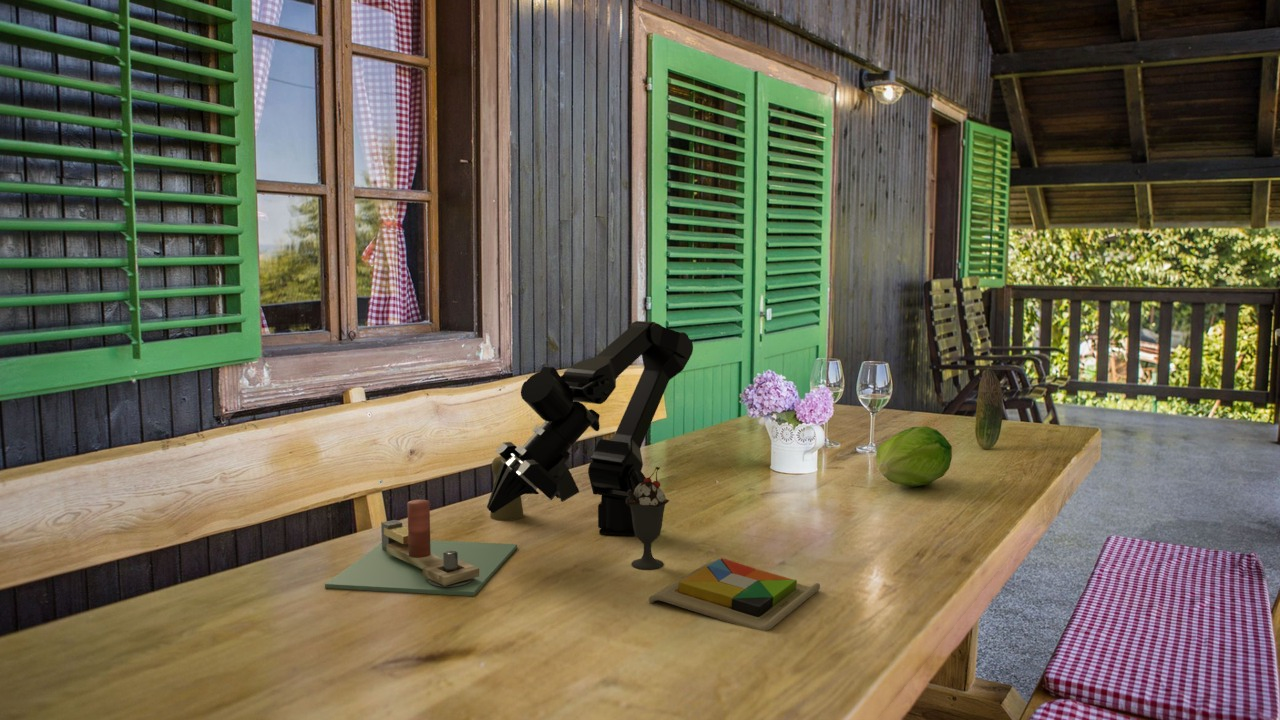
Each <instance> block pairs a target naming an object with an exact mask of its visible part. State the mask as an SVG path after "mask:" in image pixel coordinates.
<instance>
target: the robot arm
mask: <svg viewBox="0 0 1280 720" xmlns="http://www.w3.org/2000/svg"><path fill="white" fill-rule="evenodd" d="M693 351H694V344H693V341H692V340H691V339H690V337H689V335H688V334H687V333H686V332H683V331H677V330H674V329H670V328H667V327H664V326H663V325H661V324H659V323H657V322H655V321H645V320H644V321H642V320H635V321H634V322H631V323H630V324H629V325H628V329H626V330H625V331H623V332H622V333H621V334H620V335H619V336H618V337H617V338H616V339H615V340H614V341H612V342H611V343H610V344H609V345H608V346H607V347H605V348H604V349H603V350H602V351H601V352H599V353H598V354H597V355H596V356H594V357H591V358H587V359H584V360H580V361H578V362H576V363H574V364H573V365H570V366H569V367H567V369H566V370H565V371H564V372H563V374H562V375H560V374H559V372H558V370H557V369H556V368H555V367H554V366H547V365H543V366H542V367H541V370H540V371H539V372H536V373H534V374H532V375H531V376H530V377H529V378H528V379H527V380H525V381H524V382H523V384H522V386H521V389H520V397H521V399H522V400H523V401H524V403H526V404H527V405H528V406H529V407H530V408H531V409H532V410H533V411H534V412H535V413H536V414H537V415H538V416H539V417H540V419H542V420H543V421H544V422H543V423H542V424H541V426H539V425H538V424H537V425H535V426H534V428H532V431H533V432H534V433H533V435H531V437H530V438H529V439H528V440H526V442H525V443H524V445H523V446H522V445H520V444H518V445H515V444H514V443H513V442H512V441H508V442H507V441H506V442H502V443H501V444H500V446H498V448H497V449H496V450H495V452H496V454H498V455H500V456H502V457H503V458H504V459H505V460H506V461H507V462H506V463H505V462H504V461H502V460H501V462H500V463H501V464H500V468H499V471H498V474H497V478H496V481H495V484H494V483H493V487H492V490H491V494H490V496H489V499H488V502H487V504H486V505H487V506H486V509H488V511H490V513H491V512H492V513H495V512H496V511H498V510H499V509H501V508H502V507H504V506H505V505H507V504H508V503H510V502H512V501H513V500H515V499H516V498H518V497H520V496H521V497H522V496H523V495H540V492H541V493H542V494H544V496H546V497H547V498H548V499H549V500H550V501H552V500H553V499H554V498H556V499H560V502H561V503H564V502H565V501H566V500H568V499H570V498H572V497H574V496H575V495H577V494H579V493H580V490H579V487H578V485H577V484H576V483H577V482H576V481H575V480H574V477H573V474H572V472H570V470H569V466H568V465H567V464H566V462H567V461H568V460H569V459H570V455H571V453H570V452H569V450H570V449H571V448H572V446H573V445H575V443H576V442H577V441H578V440H579V439H580V437H581V436H582V435H583V434H584V433H585V432H586V431H587V430H588V429H589V427H590V428H591V429H593V430H594V431H595V432H599V430H600V425H601V424H600V414H599V413H598V412H597V411H595V410H594V409H592V408H591V409H588V407H586V406H585V404H596V405H601V404H604V403H605V402H606V401H607V400H608V398H609V397H610V395H612V393H613V392H614V390H616V388H617V378H618V377H619V376H620V375H621V374H622V373H623V372H624V371H626V370H627V369H628V367H630V366H631V365H632V364H633V363H634V362H636V360H637V359H639V357H641V359H642V364H643V370H642V373H641V374H640V377H639V379H638V382H637V384H636V386H635V388H634V391H633V393H632V395H631V398H630V399H629V401H628V404H627V407H626V409H625V411H624V413H623V415H622V417H621V420H620V421H619V423H618V426H617V429H616V431H615V434H614V435H613V436H612V437H611V438H609V439H605V438H600V439H599V441H598V442H597V443H596V447H595V449H594V452H593V454H592V455H591V456H590V457H589V459H590V460H591V461H590V462H589V465H588V469H587V474H588V478H589V479H588V480H589V482H590V488H591V490H592V494H593V495H595V496H596V495H599V496H601V497H600V502H599V503H598V505H597V527H598V528H599V531H598V533H599V534H600V535H611V536H612V535H614V536H635V533H634V528H633V521H632V513H631V508H630V506H627V504H626V499H627V498H628V497H630V496H629V495H628V492H627V491H628V490H629V489H631V491H632V492H633V494H634V491H635V488H636V487H637V486H638V485H639V483H642V482H643V481H644V480H645V478H647V477H646V476H645V474H644V473H643V472H642V469H643V466H644V463H643V457H642V452H641V449H642V444H643V443H644V440H645V438H646V435H647V433H648V431H649V429H650V426H651V424H652V422H653V420H654V416H655V415H656V412H657V410H658V407H659V406H660V405H659V404H660V403H661V400H662V398H663V395H664V394H665V391H666V389H667V387H668V385H669V382H670V380H672V379H673V378H674V377H676V376H677V375H678V374H680V373H681V372H682V371H683V370H684V369H685V367H686V366H687V364H688V363H689V360H690V358H691V357H692V355H693ZM583 403H585V404H583ZM537 489H538V490H539V491H540V492H538V490H537ZM635 537H636V536H635Z"/></svg>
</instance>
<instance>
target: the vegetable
mask: <svg viewBox="0 0 1280 720" xmlns="http://www.w3.org/2000/svg"><path fill="white" fill-rule="evenodd" d="M977 391H978V392H977V399H976V401H977V402H976V410H975V412H976V413H975V427H974V429H975V430H974V431H975V433H974V434H975V439H976V443H977V444H978V446H979V447H980V448H981V449H984V450H990V449H991V448H993V447H994V446H995V445H996V444H997V443H998V440H999V438H1000V434H1001V429H1002V425H1003V417H1004V416H1003V415H1004V414H1003V413H1004V406H1003V405H1004V404H1003V403H1004V402H1003V392H1002V385H1001V382H1000V380H999V378H998V376H997V375H996V372H995V371H994V370H993V369H992V368H990V367H988V368H985V369H984V370H983V372H982V376H981V378H980V381H979V385H978V390H977Z"/></svg>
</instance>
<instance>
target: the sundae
mask: <svg viewBox="0 0 1280 720" xmlns="http://www.w3.org/2000/svg"><path fill="white" fill-rule="evenodd" d="M660 469H661V468H660V467H659V466H655V469H654V471H653V473H652V474H651V475H650V476H649V477H646V478H645V480H644V481H643V482H642V483H639V485H638V486H637V487H636V488H635V491H634V494H633V492H632V491H631V489H629V490H628V491H627V492H628V495H629V496H630V497H628V498H627V499H626V504H627V506H630V508H631V513H632V521H633V528H634V533H635V537H636V539H638V540H639V541H641V543H642V544H643V553H642V555H641V558H637V559H634V560H632V562H631V567H633V568H635V569H639V570H644V571H645V570H648V571H651V570H658V569H660V568H662V567H663V566H664V562H663V560H661V559H657V558H655V557H654V556H653V553H652V543H653V542H655V540H657V539H658V538H659V536H661V532H662V528H663V521H664V520H663V519H664V513H665V508H666V507H665V506H666V504H668V503H669V502H670V500H669V499H667V498H666V494H665V492H664V491H663V489H661V482H660V481H658V471H659V470H660ZM654 474H655V480H654V481H653V482H652V479H651V478H652V476H653V475H654Z"/></svg>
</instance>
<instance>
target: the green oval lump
mask: <svg viewBox="0 0 1280 720" xmlns="http://www.w3.org/2000/svg"><path fill="white" fill-rule="evenodd" d="M952 448H953V447H952V445H951V443H950V442H949V441H948V440H947V438H946V437H945V436H944V435H943V434H942V433H941V432H940V431H939V430H938V429H935V428H933V427H931V426H914V427H910V428H907V429H904V430H902V431H900V432H898V433H897V434H895V435H893V436H892V437H890V438H888V439H887V440H885V441H884V442H883V443H882V444H879V446H877V448H876V455H875V459H876V464H877V465H876V466H877V468H878V471H879V473H880V474H881V475H883V477H884V478H886V479H887V480H888V481H889V482H890V483H893V484H898V485H902V486H906V487H920V486H926V485H930V484H932V483H933V482H935V481H936V480H938V479H941V478H942V477H943V476H945V475H946V473H947V472H948V470H949V469H950V468H951V467H950V466H951V463H952V462H951V461H952V455H953V451H952V450H953V449H952Z"/></svg>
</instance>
